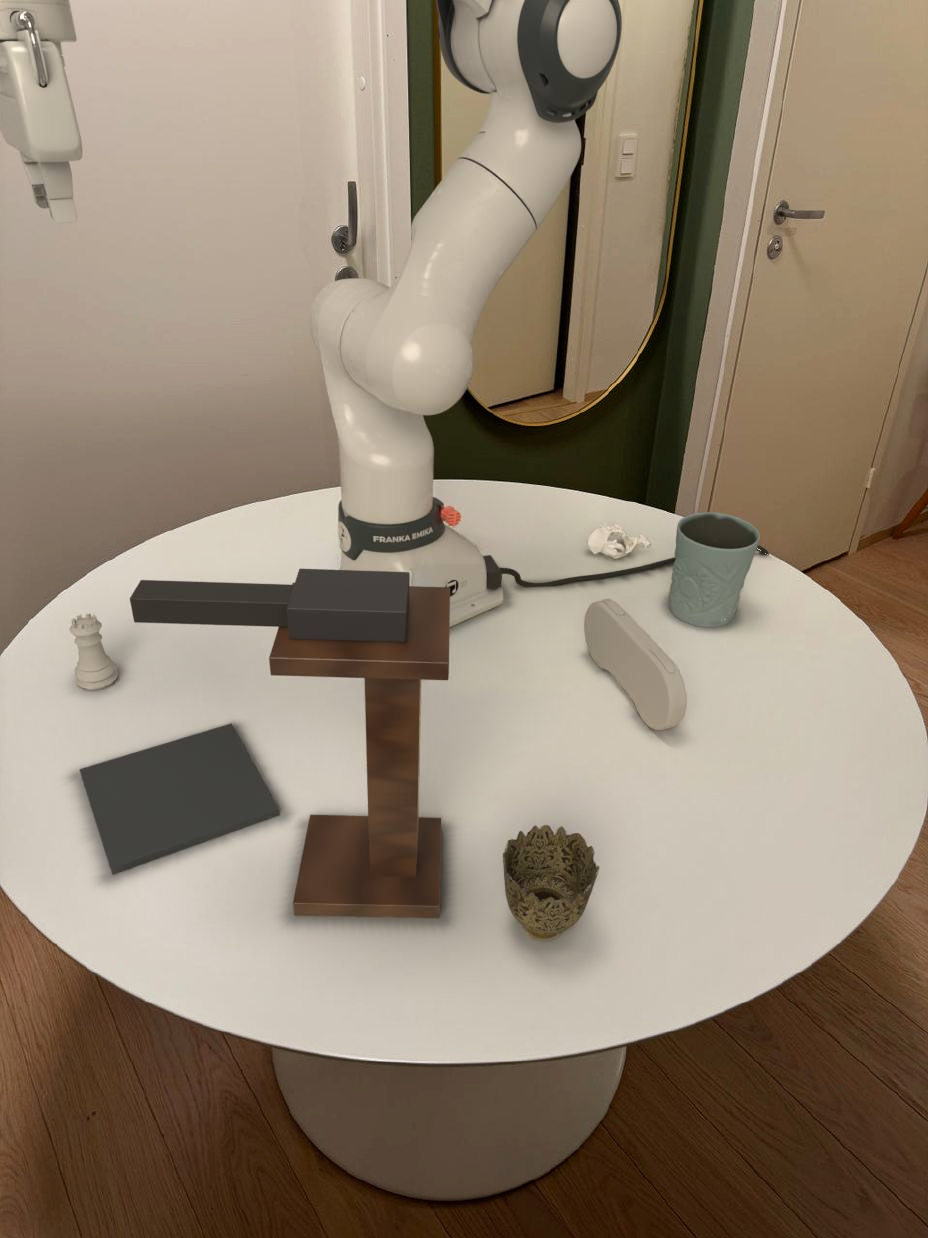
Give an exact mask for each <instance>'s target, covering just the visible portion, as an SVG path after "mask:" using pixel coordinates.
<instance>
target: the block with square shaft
mask: <svg viewBox="0 0 928 1238" xmlns="http://www.w3.org/2000/svg"><path fill="white" fill-rule="evenodd" d="M294 583H295V584H294V585H292V584H284V583H282V584H281V583H255V582H254V583H252V582H225V581H224V582H223V581H218V582H217V581H193V580H192V581H191V580H190V581H188V580H157V579H141V580H140V581H139V583H138V584H137V585H136V587H135V589H134V591H133V593H132V594H131V596H130V597H129V603H130V607H131V612H132V617H133V622H134V623H135V624H137V623H140V624H172V625H201V626H202V625H206V626H238V627H239V626H240V627H241V626H242V627H269V628H270V627H272V628H274V627H275V628H279V627H288V628H289V638H290V639H310V640H344V641H378V642H406V635H407V623H408V612H409V595H410V573H409V572H390V571H359V570H340V569H324V568H298V571H297V575H296V578H295V582H294Z"/></svg>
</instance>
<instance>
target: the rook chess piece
mask: <svg viewBox="0 0 928 1238" xmlns="http://www.w3.org/2000/svg"><path fill="white" fill-rule="evenodd" d="M102 626H103V625H102V622H101V621H100V620H98V619H97V616H96V615H95V614H93V615H91V613H85V617H83V615H82V614H78V615H76V618H74V617H72V619H71V625H70V627H69V630H68V631H69V633H70V634H71V635H73V636H74V637H75V638H74V644H75V645H76V646H77V649H78V661H77V663H76V666H75V668H74V677H75V683H76V685H78V687H80V688H82V689H84V690H86V691H98V690H103V689H106V688H108V687H110V686H111V685H113V684H114V683H115V681H116V679H117V678H118V676H119V670H118V669H117V664H116V663H115V661H114V660H113V659H112V658H111V657H110V656H109V655H108V654H107V653H106V651H105V648H104V646H103V644H102V640H103V635H102V634H101V633H100V631H101V629H102Z"/></svg>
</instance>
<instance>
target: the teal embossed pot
mask: <svg viewBox="0 0 928 1238" xmlns="http://www.w3.org/2000/svg"><path fill="white" fill-rule="evenodd" d="M760 540H761V533H760V531H759V530H758V529H757V528H756V527H755V526H754V525H753V524H751V523H750V522H749V521H746V520H745V519H742V518H739V517H737V516H733V515H730V514H726V513H721V512H711V511H702V512H694V513H690V514H688V515H686V516H683V517H682V518H680V519H679V521H678V522H677V526H676V535H675V550H674V557H675V559H676V560H675V562H674V563H673V564H672V565H673V566H672V573H671V582H670V585H669V594H668V595H669V596H668V603H667V604H668V609H669V611H670V613H671V614H672V615H673V616H674V617H676V618H677V619H678V620H680V621H682V622H683V623H686V624H689V625H692V626H696V627H700V628H719V627H724V626H725V625H728V624H729V623H731V622H732V620H733V619H734V616H735V614H736V610H737V609H738V606H739V603H740V599H741V592H742V589H743V588H744V585H745V581H746V578H747V575H748V573H749V571H750V569H751V566H752V563H753V561H754V557H755V555H756V552H757V550H756V549H757V546H758V545H759V543H760ZM734 613H735V614H734ZM724 619H726V620H724ZM721 620H722V621H721Z"/></svg>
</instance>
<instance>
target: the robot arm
mask: <svg viewBox="0 0 928 1238" xmlns="http://www.w3.org/2000/svg"><path fill="white" fill-rule="evenodd" d="M435 2H436V8H437V12H438V25H437V30H438V41H439V48H440V53H441V56H442V59H443V61H444V64H445V66H446V68H447V69H448V71H449V73H450V74H451V75H452V76H453V77H454V79H456V80H457V81H458V82H459V83H460V84H462V85H463V86H465V87H467V88H468V89H470V90H472V91H474V92H477V93H479V94H484V95H489V96H490V97H489V103H488V107H487V111H486V114H485V117H484V120H483V122H482V124H481V126H480V127H479V130H478V133H477V135H475V137H474V138H473V139H472V140H471V141H470V142H469V144H468V145H467V146H466V148H465V149H464V150H463V151H462V152H461V154H460V155H459V156H458V158H457V159H456V161H455V162H454V163H453V165H452V166H451V167H450V169H449V170H448V171H447V173H446V174H445V175H444V177H443V178H442V179H441V181H440V182H439V183H438V184H437V186H436V187H435V189H434V190H433V191H432V193H431V194H430V196H428V198H427V199H426V201H425V202H424V204H423V205H422V207H421V208H419V211H417V213H416V215H415V216H414V218H413V219H412V222H411V228H410V235H411V242H410V246H409V250H408V253H407V255H406V258H405V260H404V263H403V265H402V267H401V269H400V271H399V274H398V276H397V278H396V279H395V281H394V282H393V284H392V285H391V286H388V285H386V284H385V283H382V282H380V281H377V280H374V279H372V278H371V279H370V278H359V277H358V278H357V277H356V278H352V277H351V278H342V279H338V280H335V281H332V282H330V283H329V284H327V285H326V286H325V287H323V288H322V290H320V291H319V293H318V294H317V296H316V297H315V299H314V300H313V302H312V305H311V307H310V311H309V319H308V327H309V332H310V335H311V338H312V340H313V343H314V345H315V347H316V350H317V353H318V356H319V359H320V363H321V367H322V372H323V377H324V382H325V387H326V391H327V397H328V402H329V405H330V409H331V414H332V418H333V422H334V427H335V432H336V437H337V444H338V456H339V474H340V475H339V476H340V496H341V497H340V498H341V499H340V501H339V503H338V506H337V521H338V523H337V537H338V542H339V548H340V550H341V551H340V563H339V570H359V571H390V572H409V573H410V586H421V587H449V588H450V628H452V627H454V626H456V625H458V624H460V623H463V622H465V621H467V620H470V619H472V618H474V617H476V616H478V615H481V614H483V613H485V612H487V611H490V610H491V609H494V608H496V607H498V606H500V605H502V604H503V603H504V602H505V595H504V589H503V587H502V583H503V582H502V581H503V575H510V576H511V577H513V578H514V582H515V584H517V585H518V586H521V587H522V588H547V587H548V588H549V587H550V588H551V587H560V586H564V585H571V584H575V583H583V582H591V581H600V580H608V579H613V578H619V577H624V576H629V575H634V574H639V573H643V572H647V571H651V570H654V569H658V568H661V567H666V566H669V565H674V562H675V560H676V559H675V556H673V557H670V558H667V559H662V560H659V561H656V562H652V563H648V564H644V565H640V566H636V567H631V568H624V569H621V570H614V571H608V572H602V573H595V574H586V575H577V576H571V577H565V578H561V579H560V578H559V579H556V580H551V581H546V582H530V581H527V580H524V579H522V577H521V574H520V572H518V571H517V570H515V569H513V568H510V567H499V565H498V563H497V562H496V561H495V559H494V558H493V556H492V555H491V554H487V555H483V554H482V552H481V550H480V549H479V548H478V546H476V544H474V542H472V540H470V539H469V538H468V537H466V536H465V535H463V534H462V533H461V532H459V531H457V530H456V529H454V528H452V527H456V526H457V525H459V523H460V522H461V521H462V514H461V512H460V511H459V510H457V509H455V508H454V507H453V506H452V505H447V506H445V503H444V502H443V501H442V500H440V499H439V498H437V497H435V496H434V473H435V472H434V466H435V446H434V442H433V437H432V435H431V433H430V430H429V428H428V425H427V423H426V421H425V418H424V416H433V415H434V416H435V415H437V414H441V413H443V412H446V411H448V410H450V408H452V407H453V406H455V404H457V403H458V402H459V401H460V400H461V398H462V397H463V396H464V394H465V393H466V391H467V390H468V387H469V385H470V383H471V381H472V377H473V371H474V353H473V342H474V337H475V334H476V330H477V328H478V325H479V322H480V319H481V317H482V316H483V312H484V310H485V307H486V305H487V304H488V301H489V300H490V297H491V295H492V294H493V291H494V290H495V289H496V287H497V285H498V284H499V283H500V281H501V279H502V278H503V276H505V274H506V272H507V271H508V270H509V268H510V267H511V265H512V264H513V263H514V262H515V260H516V259H517V257H518V256H519V255H520V253H521V252H522V251H523V249H524V248H525V247H526V246H527V244H528V243H529V242H530V240H531V239H532V237H533V236H534V235H535V233H536V232H537V231H538V229H539V228H540V227H541V225H542V224H543V222H544V221H545V220H546V218H547V217H548V215H549V214H550V213H551V211H552V209H553V207H554V206H555V204H556V203H557V201H558V199H559V198H560V196H561V195H562V193H563V191H564V189H565V188H566V186H567V184H568V182H569V180H570V178H571V176H572V174H573V172H574V171H575V168H576V166H577V164H578V162H579V160H580V156H581V152H582V137H581V134H580V130H579V127H578V125H577V123H576V121H575V120H577V119H579V118H580V117H581V116H583V115H585V114H586V113H587V112H588V111H589V110H590V109H591V108H592V107H593V106H594V105H595V102H596V100H597V95H598V91H599V90H600V89H601V88H602V86H603V85H604V83H605V82H606V80H607V78H608V77H609V75H610V73H611V71H612V69H613V66H614V64H615V60H616V59H617V55H618V52H619V48H620V45H621V44H620V43H621V39H622V30H623V29H622V28H623V17H622V10H621V5H620V2H619V0H435ZM77 41H78V38H77V31H76V27H75V23H74V16H73V13H72V8H71V2H70V0H0V132H1V135H2V137H3V139H4V141H5V142H6V144H8V145H9V146H11V147H13V148H14V149H16V150H17V151H19V154H20V159H21V163H22V166H23V168H24V170H25V174H26V176H27V179H28V182H29V185H30V187H31V192H32V196H33V200H34V203H35V205H37V206H38V207H39V208H40V209H44V210H45V209H49V215H50V217H51V218H52V220H53V221H54V222H55V223H58V224H74V223H76V221H78V214H77V210H76V206H75V200H74V188H73V187H74V186H73V185H74V184H73V173H72V169H71V164H70V162H79V161H80V160H82V158H83V142H82V136H81V131H80V127H79V123H78V119H77V115H76V111H75V107H74V102H73V97H72V93H71V89H70V85H69V82H68V81H69V80H68V78H67V77H68V76H67V72H66V69H65V67H66V61H65V57H64V56H63V55H64V54H63V49H62V43H75V42H77ZM585 105H586V106H585ZM581 108H582V109H581ZM445 522H446V523H445ZM757 548H758V549H760V550H761V551H760V550H758V549H756V552H759V553H761V554H762V555H763V556H770V553H769V551H768V550H767V549H766V548H765V547H763V546H761V545H759V544H758V546H757ZM765 553H766V554H765ZM767 554H768V555H767Z"/></svg>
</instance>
